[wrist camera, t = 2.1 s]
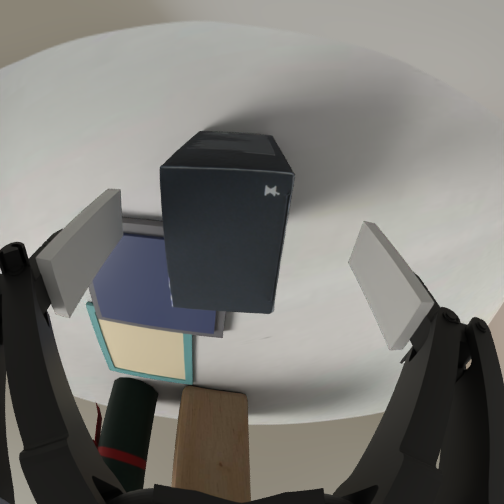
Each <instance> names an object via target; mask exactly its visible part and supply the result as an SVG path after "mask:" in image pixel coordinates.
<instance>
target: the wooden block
mask: <svg viewBox="0 0 504 504" xmlns="http://www.w3.org/2000/svg"><path fill="white" fill-rule="evenodd" d="M248 435H249V434H248V400H247V397H246V395H245V394H242V393H233V392H226V391H218V390H212V389H205V388H199V387H194V386H186V387H185V388H184V389H183V392H182V397H181V403H180V409H179V416H178V425H177V434H176V442H175V453H174V463H173V474H172V487H175V488H181V489H188V490H197V491H200V492H203V493H206V494H209V495H212V496H216V497H219V498H223V499H227V500H231V501H235V502H240V503H244V502H249V501H251V493H250V465H249V436H248Z"/></svg>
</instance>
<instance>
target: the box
mask: <svg viewBox="0 0 504 504" xmlns="http://www.w3.org/2000/svg"><path fill="white" fill-rule="evenodd" d="M294 180H295V174H294V173H293V172H292V169H291V167H290V166H289V164H288V162H287V160H286V159H285V157H284V155H283V153H282V152H281V150H280V148H279V147H278V145H277V143H276V142H275V140H274V138H273V136H271V135H261V134H251V133H234V132H213V131H199V132H198V133H197V134H196V135H195V136H193V137H192V138H191V139H190V140H189V141H188V142H187V143H185V144H184V145H183V146H182V147H181V148H180V149H179V150H177V151H176V152H175V153H174V154H173V155H172V156H171V157H170V158H169V159H168V160H167V161H166V162H165V163H164V164H163V165H161V166H160V189H161V205H162V219H163V231H164V242H165V253H166V262H167V271H168V278H169V286H170V293H171V302H172V306H173V307H176V308H186V309H197V310H211V311H226V312H244V313H263V314H270V313H272V312H273V311H274V303H275V295H276V287H277V282H278V276H279V269H280V261H281V256H282V250H283V244H284V238H285V231H286V225H287V221H288V214H289V208H290V202H291V197H292V191H293V186H294Z"/></svg>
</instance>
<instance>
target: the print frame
mask: <svg viewBox="0 0 504 504" xmlns="http://www.w3.org/2000/svg"><path fill="white" fill-rule="evenodd" d="M86 307H87V310H88V313H89V316H90V319H91V322H92V325H93V328H94V331H95V334H96V336H97V339H98V342H99V344H100V347H101V350H102V352H103V355H104V357H105V360H106V362H107V364H108V367H109V369H110V370H112V371H116V372H120V373H125V374H130V375H134V376H139V377H145V378H150V379H156V380H162V381H168V382H175V383H182V384H189V385H193V367H192V335H191V334H183V333H176V332H169V331H162V330H155V329H149V328H143V327H137V326H132V325H126V324H121V323H116V322H111V321H106V320H101V319H98V318H97V315H96V312H95V309H94V305H93V303H90V302H87V303H86Z"/></svg>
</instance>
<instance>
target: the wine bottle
mask: <svg viewBox="0 0 504 504" xmlns="http://www.w3.org/2000/svg"><path fill="white" fill-rule="evenodd" d="M157 397H158V393H157V391H156V390H155V389H154V388H153V387H151V386H150V385H148V384H146V383H144V382H142V381H139V380H136V379H132V378H118V379H116V380H115V381H114V384H113V388H112V392H111V395H110V399H109V403H108V406H107V410H106V414H105V418H104V423H103V426H102V431H101V423H102V417H101V412H100V408H99V407H98V405H97V403H96V406H97V411H98V418H97V425H96V434H95V441H94V440H93V442H94V444H95V446H96V448H97V450H98V452H99V453H100V455H101V457H102V459H103V461H104V462H105V464H106V465H107V466H108V468H109V469H110V470H111V471H112V472H113V474H114V475H115V476H116V478H117V479H118V481H119V482H120V484H121V485H122V487H123V488H124V490H125V491H126V493H127V492H130V491H135V490H139V489H143V485H144V477H145V469H146V462H147V455H148V448H149V442H150V436H151V430H152V423H153V418H154V413H155V407H156V402H157ZM100 433H101V435H100Z"/></svg>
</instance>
